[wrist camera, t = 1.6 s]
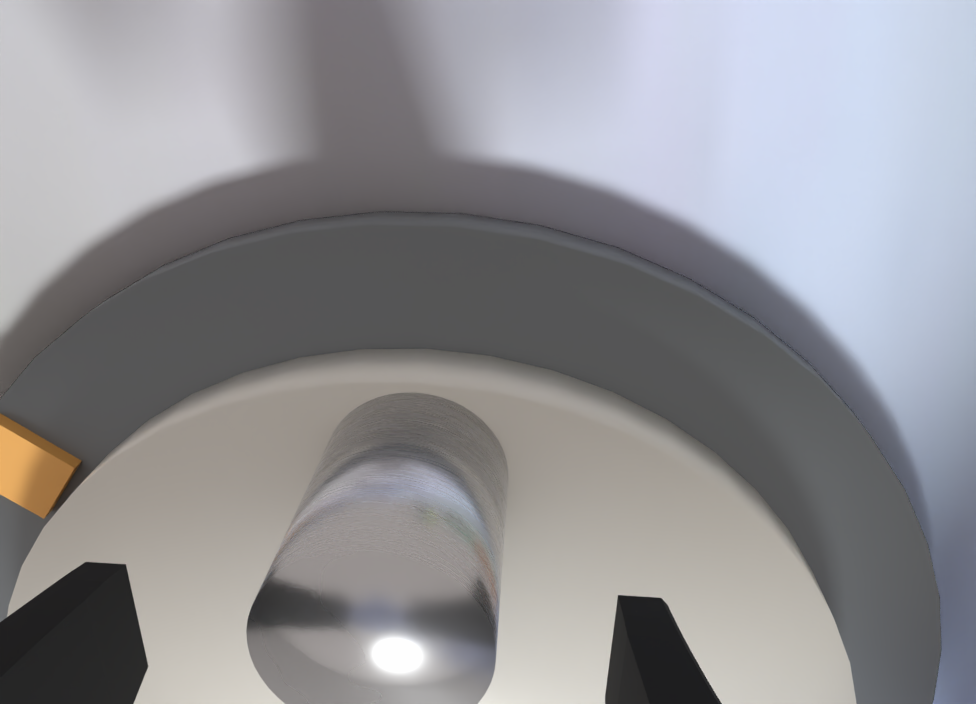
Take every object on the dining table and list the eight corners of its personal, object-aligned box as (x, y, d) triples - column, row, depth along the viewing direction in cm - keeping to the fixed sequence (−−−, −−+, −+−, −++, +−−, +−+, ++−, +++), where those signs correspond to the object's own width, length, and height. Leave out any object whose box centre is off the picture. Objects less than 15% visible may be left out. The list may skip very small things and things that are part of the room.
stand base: (848, 35, 14) (877, 40, 13) (962, 882, 24) (985, 929, 22) (-233, 389, 19) (-285, 416, 17) (231, 974, 28) (217, 1017, 27)
